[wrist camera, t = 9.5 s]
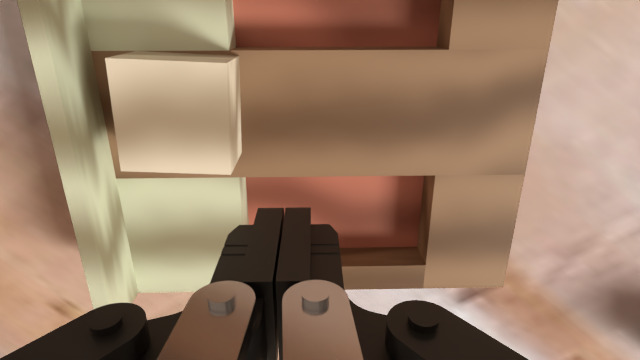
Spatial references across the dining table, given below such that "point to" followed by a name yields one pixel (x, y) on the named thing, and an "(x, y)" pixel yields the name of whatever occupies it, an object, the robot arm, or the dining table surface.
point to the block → (176, 111)
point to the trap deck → (306, 133)
